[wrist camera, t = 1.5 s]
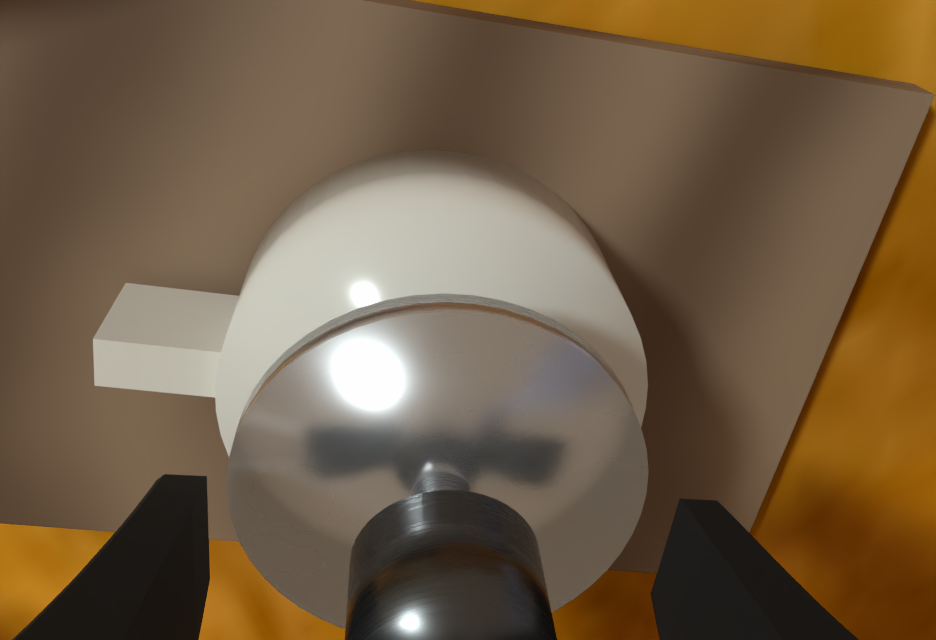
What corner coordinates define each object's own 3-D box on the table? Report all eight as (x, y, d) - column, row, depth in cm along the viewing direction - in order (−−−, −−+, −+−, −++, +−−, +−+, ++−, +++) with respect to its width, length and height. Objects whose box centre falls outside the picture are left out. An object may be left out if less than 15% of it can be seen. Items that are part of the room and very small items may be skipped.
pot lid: (688, 321, 14) (798, 506, 10) (587, 628, 17) (641, 855, 13) (242, 267, 13) (179, 451, 9) (224, 603, 16) (171, 841, 12)
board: (913, 84, 18) (934, 94, 17) (720, 557, 24) (729, 578, 24) (-153, -94, 15) (-179, -89, 14) (-65, 494, 21) (-81, 517, 21)
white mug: (656, 180, 18) (701, 241, 15) (567, 489, 22) (591, 581, 19) (129, 104, 16) (77, 158, 14) (132, 450, 20) (94, 544, 18)
